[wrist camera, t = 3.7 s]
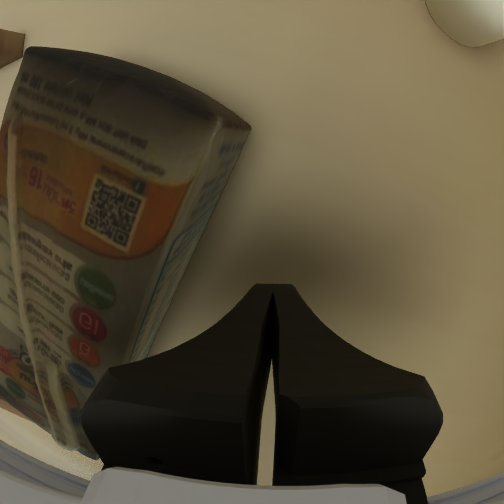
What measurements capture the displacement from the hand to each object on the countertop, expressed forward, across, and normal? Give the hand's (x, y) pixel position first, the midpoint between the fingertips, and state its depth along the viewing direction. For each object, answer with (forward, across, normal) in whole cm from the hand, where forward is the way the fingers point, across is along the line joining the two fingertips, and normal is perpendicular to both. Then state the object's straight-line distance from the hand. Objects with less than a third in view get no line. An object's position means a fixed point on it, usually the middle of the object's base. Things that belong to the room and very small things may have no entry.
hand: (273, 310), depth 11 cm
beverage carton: (+4, +8, 0) cm, 10 cm away
